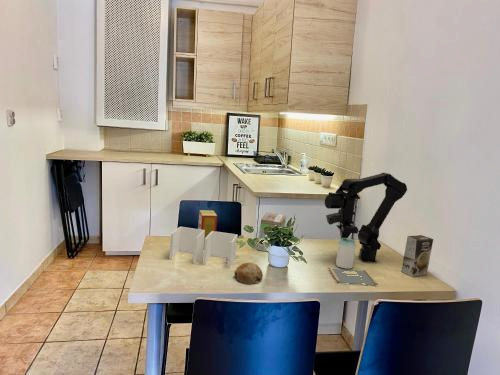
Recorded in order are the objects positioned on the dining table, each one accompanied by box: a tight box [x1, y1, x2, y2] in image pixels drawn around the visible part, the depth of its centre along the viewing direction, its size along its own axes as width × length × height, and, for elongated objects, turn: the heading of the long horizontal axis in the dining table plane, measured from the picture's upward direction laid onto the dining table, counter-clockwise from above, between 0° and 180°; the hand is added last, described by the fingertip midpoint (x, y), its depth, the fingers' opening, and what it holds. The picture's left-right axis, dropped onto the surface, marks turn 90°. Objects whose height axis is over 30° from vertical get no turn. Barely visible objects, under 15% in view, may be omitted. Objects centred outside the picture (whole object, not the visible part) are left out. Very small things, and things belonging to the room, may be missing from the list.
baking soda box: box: [197, 209, 218, 245], centre depth 181 cm, size 10×6×16 cm
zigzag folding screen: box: [169, 226, 239, 269], centre depth 165 cm, size 25×11×11 cm, turn 81°
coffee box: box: [400, 234, 434, 278], centre depth 171 cm, size 9×6×16 cm
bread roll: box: [233, 262, 264, 285], centre depth 150 cm, size 10×10×8 cm
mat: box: [327, 266, 379, 286], centre depth 162 cm, size 16×14×1 cm
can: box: [335, 237, 357, 270], centre depth 172 cm, size 7×7×12 cm
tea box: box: [257, 212, 287, 252], centre depth 188 cm, size 15×10×15 cm
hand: (342, 242), depth 178 cm, fingers closed
